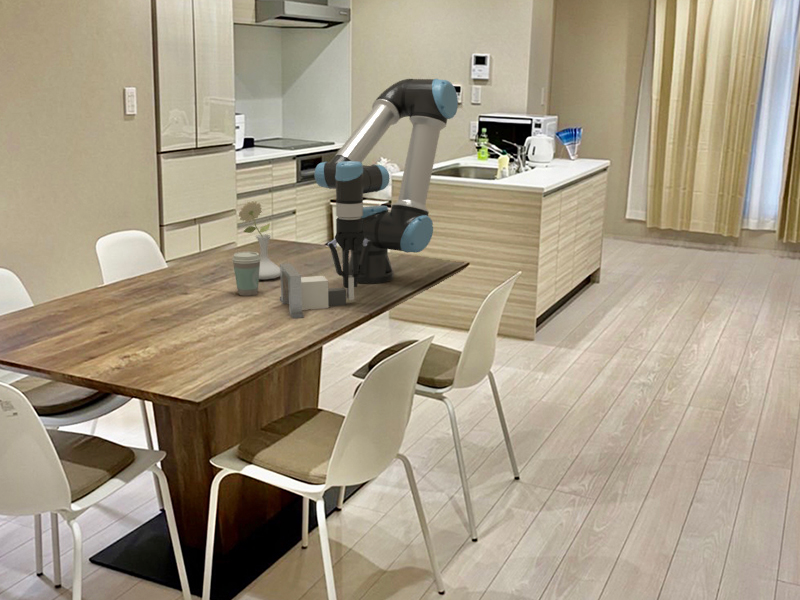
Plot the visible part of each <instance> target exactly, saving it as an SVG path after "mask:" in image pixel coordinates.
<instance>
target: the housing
mask: <svg viewBox="0 0 800 600" xmlns="http://www.w3.org/2000/svg"><path fill="white" fill-rule="evenodd" d="M279 268H280V276H279V277H280V296H279V300H280V301H281V304H282V305H287V304H288V312H289V315H290V317H291V318H292V319H300V318H301V317H302V318H305V317H304V316H305V315H304V313H303V310H302V293H301V277H302V274H300V272H299V271H298V270H297V269H296V268H295V267H294V265H293V264H292V263H291V262H287V263H285V262H284V263H282V262H281V263H279Z"/></svg>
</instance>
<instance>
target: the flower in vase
mask: <svg viewBox="0 0 800 600" xmlns="http://www.w3.org/2000/svg"><path fill="white" fill-rule="evenodd" d="M261 213H262V205H261V203H260V202H259V203H258V202H257V201H255V200H253V201H251V202H250V201H247V203H245V204H244V206H243V207H241V208H240V211H239V212H238V217H239V220H241V221H242V222H246V223H247V222H252V221H253V223H254V226H253V225H252V226H250V225H249V226H247V227H246V228H245V229H244V230H243V233H248V234H251V233H253V232H254V231H255V230H257V232H258V233H259V234H256V235H255V236H254V237H255V238H256V240H257V242H258V243H259V250H260V253H259V256H260V257H261V261H260V269H259V280H273V279H277V278H278V277H280V266H278V265H277V264H276V263H274V262H273V261H272V260H271V259H270V258H269V255H268V247H269V246H268V245H269V242H270V241H269V240H270V239H271V237H272V235H271V234H267V233H266V234H264V233H263V232H267V231H268V230H269V229H270V226H271V224H270V223H267V225H264V226H261V227H260V228H258V226H257V223H256V219H257V218H258V217H259V216H260V215H261ZM259 229H260V230H259Z"/></svg>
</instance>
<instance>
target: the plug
mask: <svg viewBox="0 0 800 600" xmlns="http://www.w3.org/2000/svg"><path fill="white" fill-rule="evenodd" d="M301 293H302V311H306V310H307V311H309V310H308V309H311V310H320V309H321V310H322V309H329V307H340V306H347V289H346V288H344V287H335V288H334V287H333V288H332V287H331V288H329V280H328V279H327V278H326V277H325V275H315V276H301Z"/></svg>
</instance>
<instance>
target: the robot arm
mask: <svg viewBox="0 0 800 600" xmlns="http://www.w3.org/2000/svg"><path fill="white" fill-rule="evenodd" d="M458 107H459V100H458V94H457V91H456V87H455V86H454V85H453V83H451V82H450V81H449V80H447V79H439V78H434V79H433V78H432V79H431V78H429V79H428V78H424V79H423V78H405V79H402V80H399V81H397V82H395V83H393V84H391V85H390V86H389V87H388V88H386V89H385V90H383V91H382V92H381V93H380V94H379V96H377V98H376V99H375V100H374V101H373V103H372V105H371V110H370V111H369V113H368V114H367V116H365V118H364V119H363V120H362V121H361V122H360V123H359V125H358V127H357V128H356V129H355V130H354V132H352V134H351V136H349V137H348V139H347V140H346V141H345V143H344V144H343V145H342V146H341V147H340V149H339V150H338V151H337V152H336V153H335V155H334V156H333V158H331V160H330V161H324V162H323V161H322V162H320V163H318V164H317V165H316V167H315V168H314V169H315V170H314V173H313V174H314V180H315V182H316V184H317V186H319V187H321V188H326V189H329V190H331V189H333V190H335V198H336V199H335V206H336V207H335V215H336V217H337V218H336V219H335V220H336V221H335V223H336V230H335V231H336V234H335V236H334V239H332V240H331V241H328V242H327V244H326V245H327V246H328V248H329V250H330V252H331V256H332V261H333V263H334V268H335V271H336V272H335V273H336V274H337V275H339V276H341V277H342V283H343V284H342V285H343V288H345V289H346V299H347V300H348V301H351V300H355V288H357V287H358V284H381V283H382V284H383V283H387V282H390V281H392V280H394V270H393V267H392V263H391V261H390V258H389V255H388V253H389V252H388V251H389V250H393V251H399V252H404V253H420V252H422V251H423V250H424V249H426V248H427V247H428V245H429V243H431V240H432V236H433V233H434V226H433V225H434V224H433V223H434V222H433V220H432V218H431V217H429V213H430V211H429V209H428V208H427V207H426V204H427V200H428V195H429V194H428V193H429V188H430V183H431V178H432V173H433V168H434V163H435V158H436V153H437V149H438V143H439V138H440V134H441V133H440V132H441V131H442V130H443V129H445V128H446V127H447V122H448V120H451V119H453V118H454V117H455V115H457V112H458ZM407 117H409V121H410V123H411V124H412V129H411V134H410V139H409V144H408V148H407V153H406V154H407V155H406V158H405V163H404V170H403V173H402V179H401V183H400V189H399V194H398V197H397V198H398V199H397V201H395V202H393V203H392V205H391V208H390V211H389V208H388V206H387V205H372V206H370V205H369V206H364V198H363V197H364V194H370V193H377V192H380V191H382V190H383V191H384V190H385V189H386V188H387V187H388V185H389V183H390V172H389V171H388V169H387V168H386V167H385V166H383V165H382V164H381V165H380V164H371V165H363V162H364V160H365V159H366V158H367V156H368V155H369V154H370V153H371V151H372V150H373V149H374V148H375V146H376V145H377V144H378V143H379V141H380V139H382V137H383V136H384V135H385V134H386V132H387V131H388V130H389V128H390V127H391V126H392V125H395V124H397V123H399V121H400V120H401V119H402V118H407ZM338 246H339V247H340V248H341V252H342V265H341V262H340V258H339V254H338V250H337V249H336V248H337V247H338ZM349 254H350V256H349Z"/></svg>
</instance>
